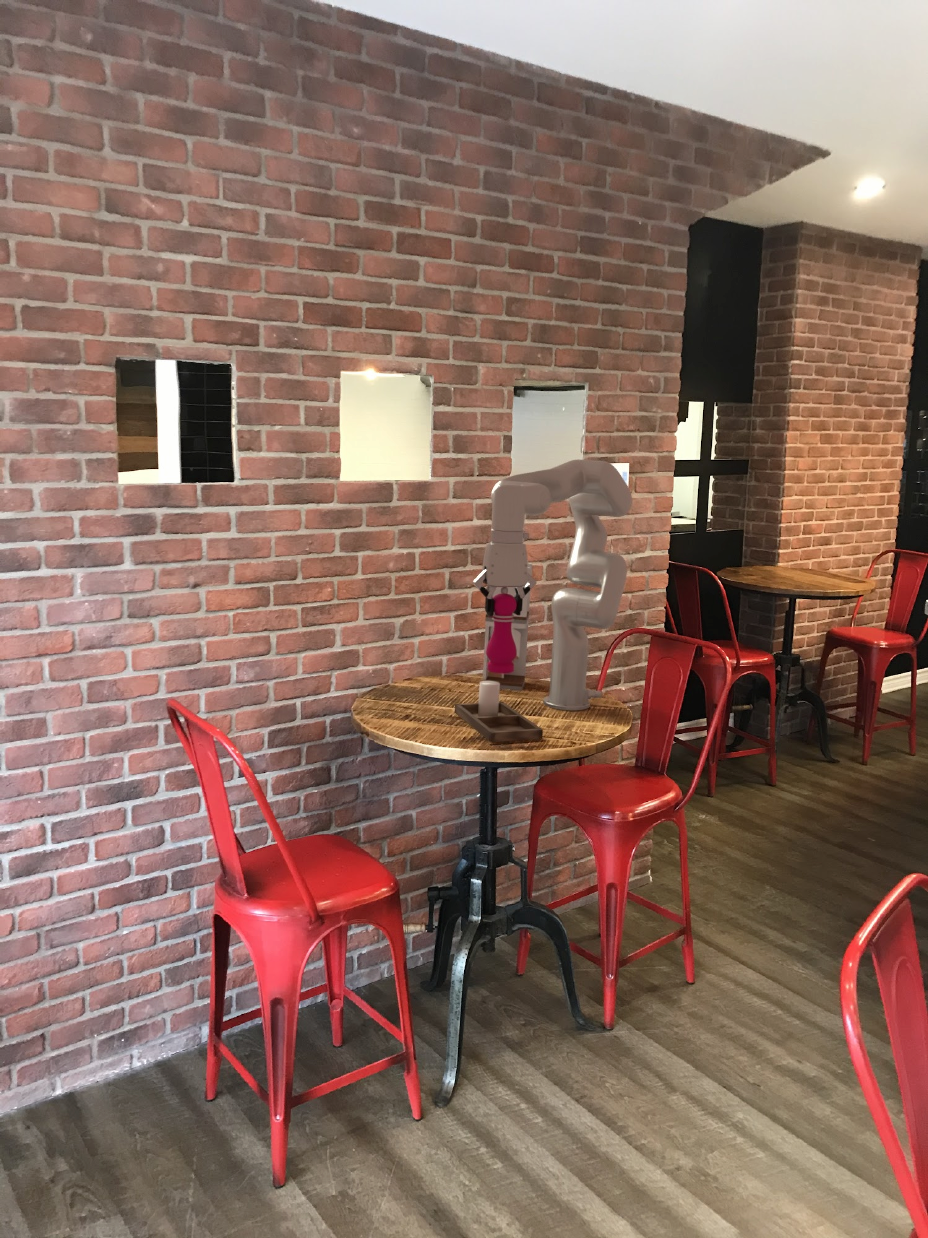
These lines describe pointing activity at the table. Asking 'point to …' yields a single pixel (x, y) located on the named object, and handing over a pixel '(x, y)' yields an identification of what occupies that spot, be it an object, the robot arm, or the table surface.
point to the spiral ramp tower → (520, 636)
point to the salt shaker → (488, 698)
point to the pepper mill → (502, 635)
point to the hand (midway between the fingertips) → (503, 613)
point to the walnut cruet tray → (499, 724)
